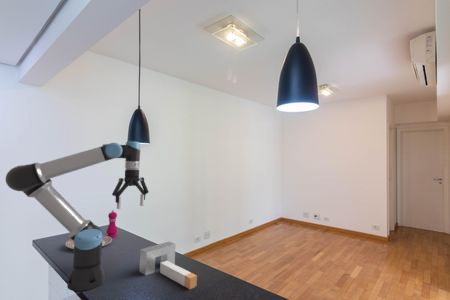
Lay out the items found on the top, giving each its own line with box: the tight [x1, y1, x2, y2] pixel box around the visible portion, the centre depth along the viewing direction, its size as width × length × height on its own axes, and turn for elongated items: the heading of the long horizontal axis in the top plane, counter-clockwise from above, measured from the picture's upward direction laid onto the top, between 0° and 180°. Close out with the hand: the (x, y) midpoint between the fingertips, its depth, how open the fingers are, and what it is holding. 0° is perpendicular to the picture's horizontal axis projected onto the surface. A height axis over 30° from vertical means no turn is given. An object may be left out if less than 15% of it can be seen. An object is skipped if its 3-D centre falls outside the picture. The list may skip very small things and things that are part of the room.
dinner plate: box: [64, 234, 113, 250], centre depth 164 cm, size 27×27×3 cm
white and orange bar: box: [159, 261, 198, 290], centre depth 121 cm, size 24×4×5 cm, turn 48°
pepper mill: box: [106, 209, 118, 239], centre depth 183 cm, size 7×7×20 cm
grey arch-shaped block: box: [138, 241, 176, 276], centre depth 133 cm, size 6×18×12 cm, turn 138°
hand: (130, 207), depth 136 cm, fingers open, 13 cm apart
